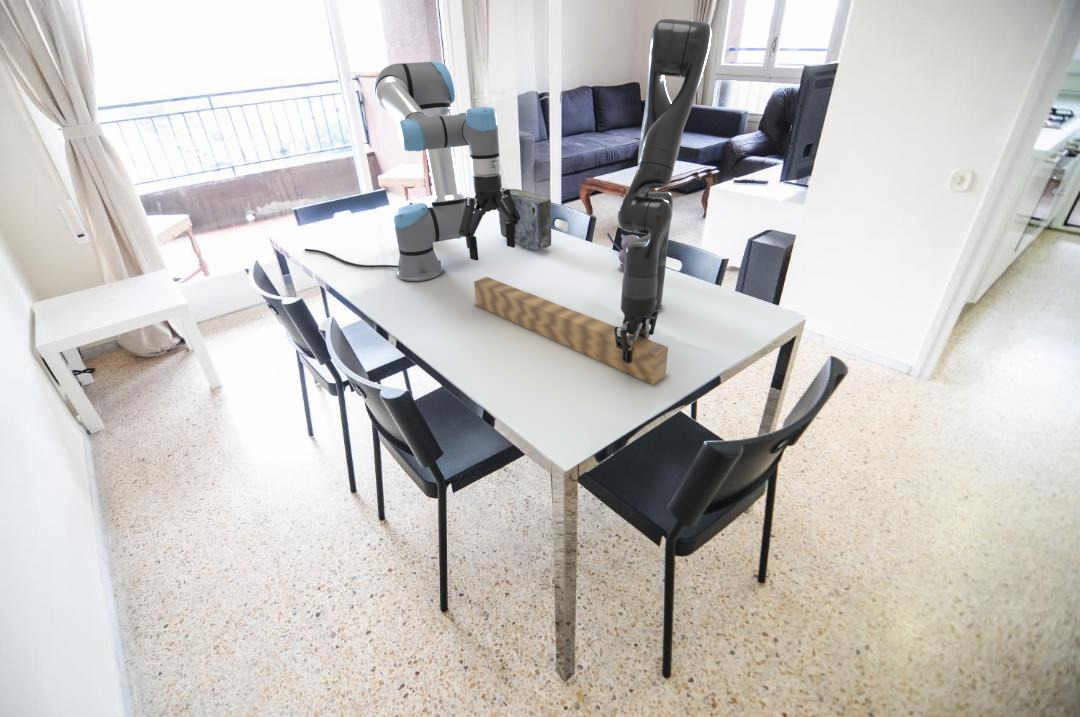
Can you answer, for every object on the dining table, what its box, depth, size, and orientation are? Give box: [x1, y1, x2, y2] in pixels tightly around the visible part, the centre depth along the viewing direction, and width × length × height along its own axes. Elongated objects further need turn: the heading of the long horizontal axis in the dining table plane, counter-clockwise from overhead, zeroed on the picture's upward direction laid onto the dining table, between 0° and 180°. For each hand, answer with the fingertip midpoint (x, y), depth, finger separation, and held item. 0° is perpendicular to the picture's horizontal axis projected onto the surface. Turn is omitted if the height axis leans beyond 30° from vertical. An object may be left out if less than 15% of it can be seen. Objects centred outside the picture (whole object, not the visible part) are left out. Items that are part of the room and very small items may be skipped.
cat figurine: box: [618, 233, 640, 273], centre depth 170 cm, size 8×8×12 cm
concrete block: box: [498, 188, 552, 251], centre depth 192 cm, size 27×9×20 cm, turn 36°
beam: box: [473, 276, 669, 386], centre depth 132 cm, size 64×5×8 cm, turn 45°
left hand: (493, 252), depth 140 cm, fingers open, 13 cm apart
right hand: (634, 357), depth 117 cm, fingers closed on beam, 5 cm apart
